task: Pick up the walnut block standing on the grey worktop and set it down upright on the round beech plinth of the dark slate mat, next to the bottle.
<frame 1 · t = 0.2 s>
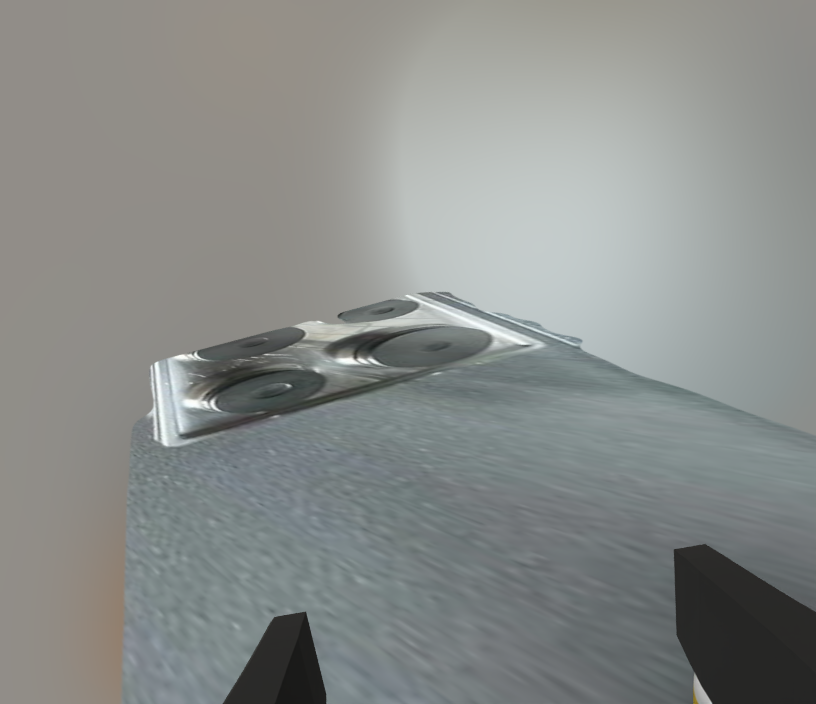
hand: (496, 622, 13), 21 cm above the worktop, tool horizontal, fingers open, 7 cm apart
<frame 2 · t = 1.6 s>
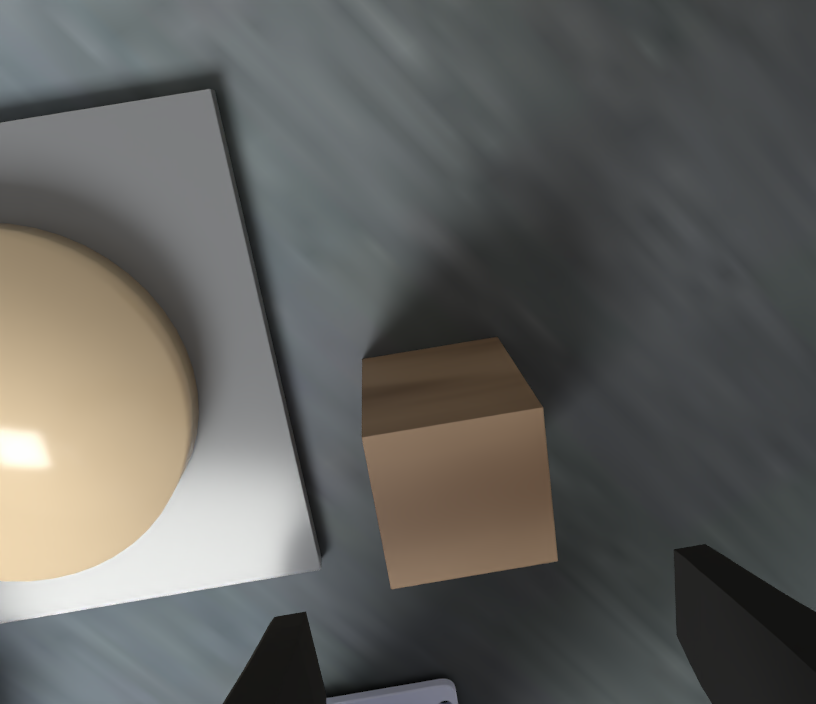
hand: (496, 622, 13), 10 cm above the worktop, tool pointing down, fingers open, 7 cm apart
base: (29, 392, 22), on the worktop
block: (439, 409, 23), on the worktop
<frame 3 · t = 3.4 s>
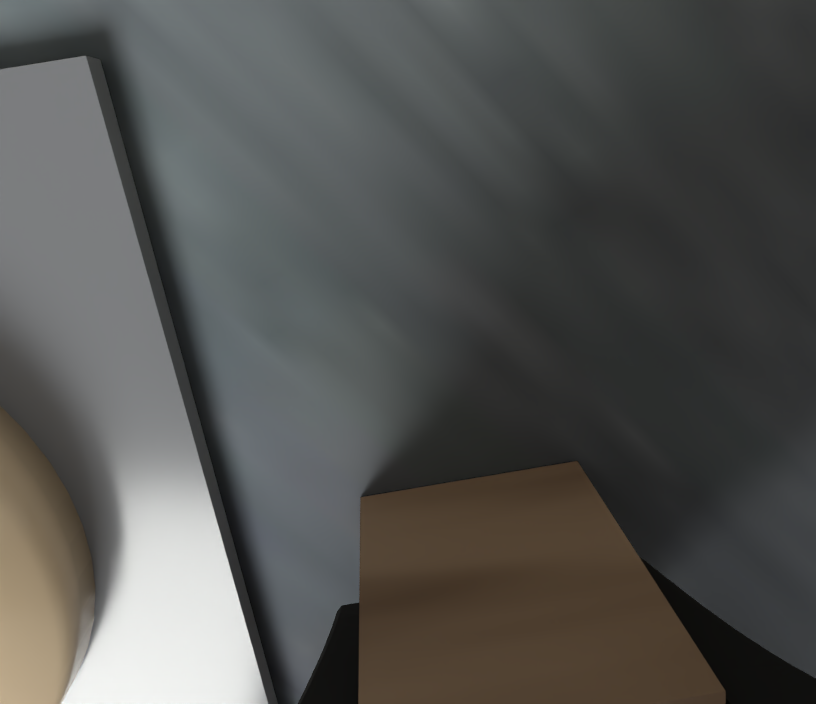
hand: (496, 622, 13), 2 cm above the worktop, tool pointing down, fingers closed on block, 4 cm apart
block: (481, 570, 15), on the worktop, touching gripper
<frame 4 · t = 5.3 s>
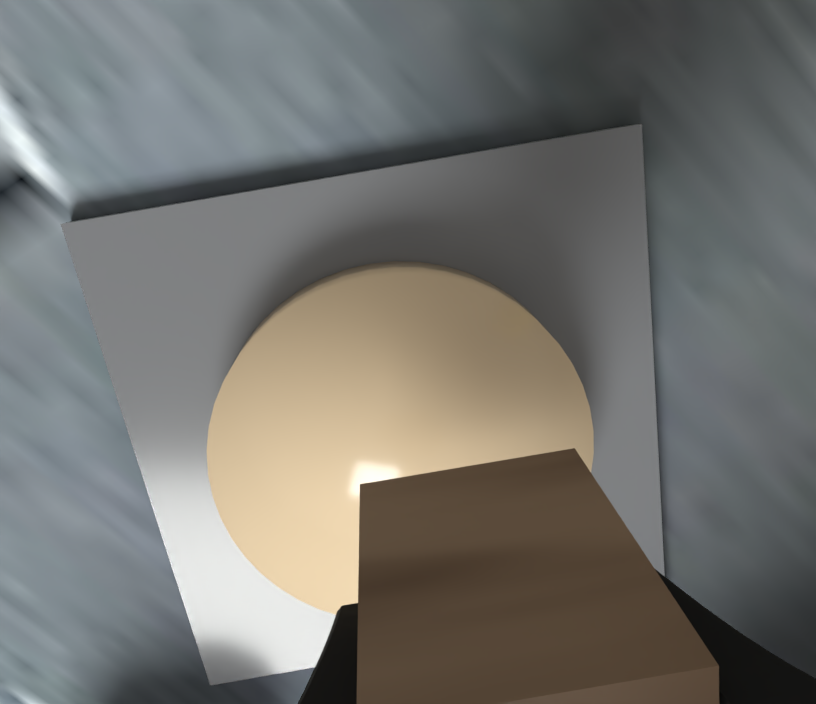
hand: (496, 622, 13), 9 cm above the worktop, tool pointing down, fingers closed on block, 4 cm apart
base: (399, 429, 21), on the worktop
block: (480, 557, 15), point 7 cm above the worktop, touching gripper
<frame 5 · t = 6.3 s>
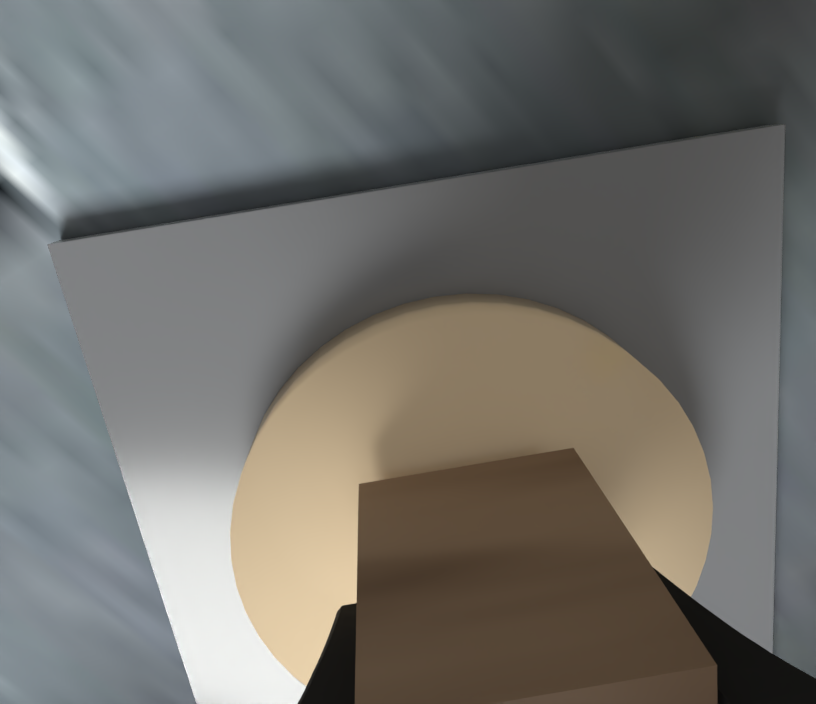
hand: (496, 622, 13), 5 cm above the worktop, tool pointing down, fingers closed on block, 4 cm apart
base: (461, 494, 18), on the worktop
block: (479, 557, 15), point 3 cm above the worktop, touching gripper
when the fingers open (5 cm above the worktop, at t = 7.1 s): block stays where it is, resting on base.
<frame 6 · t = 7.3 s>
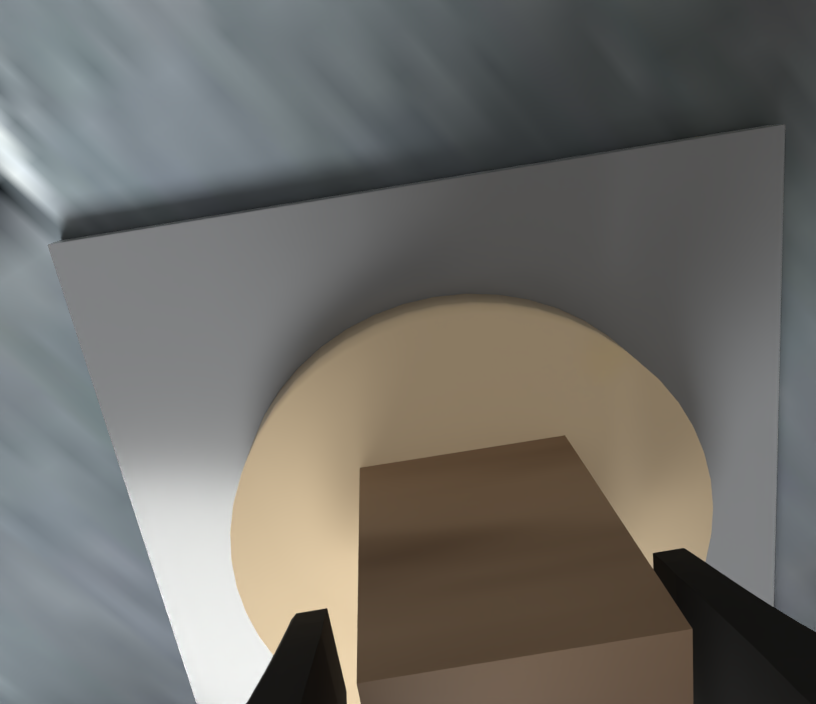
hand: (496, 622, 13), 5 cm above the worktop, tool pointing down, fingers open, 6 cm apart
base: (461, 495, 18), on the worktop
block: (474, 539, 15), point 2 cm above the worktop, touching base
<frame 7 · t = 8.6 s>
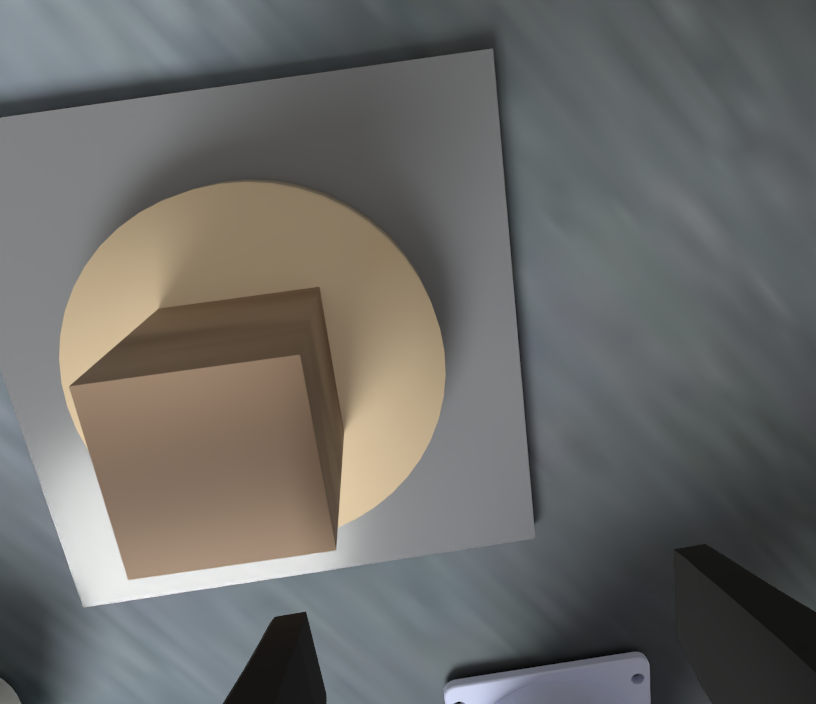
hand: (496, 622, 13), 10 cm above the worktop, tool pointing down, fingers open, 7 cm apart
base: (267, 353, 22), on the worktop
block: (254, 372, 20), point 2 cm above the worktop, touching base
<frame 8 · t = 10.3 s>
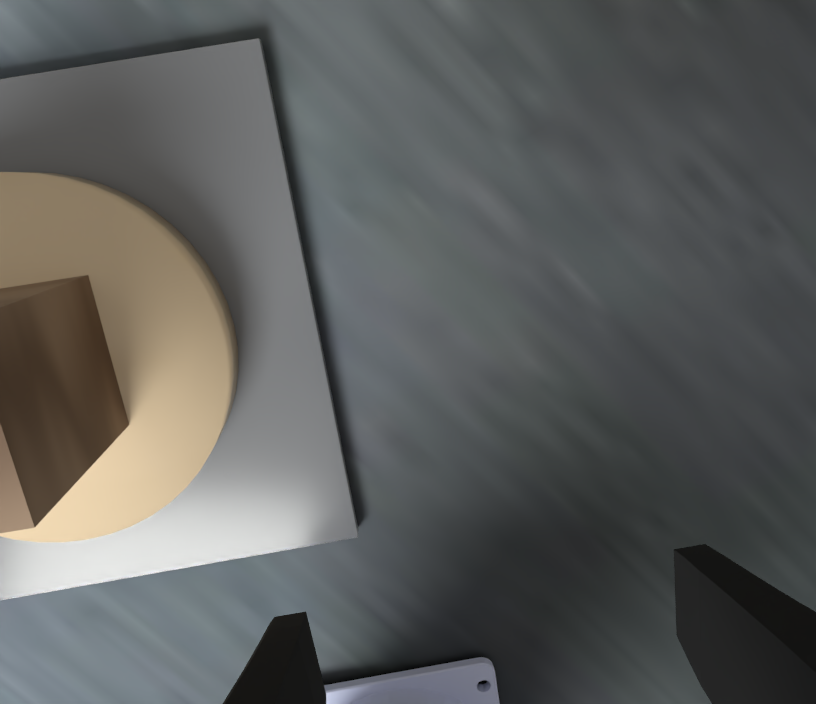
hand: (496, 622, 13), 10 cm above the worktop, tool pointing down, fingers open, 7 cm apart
base: (66, 350, 22), on the worktop
block: (30, 364, 19), point 2 cm above the worktop, touching base
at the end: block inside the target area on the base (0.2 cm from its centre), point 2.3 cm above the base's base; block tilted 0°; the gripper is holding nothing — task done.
